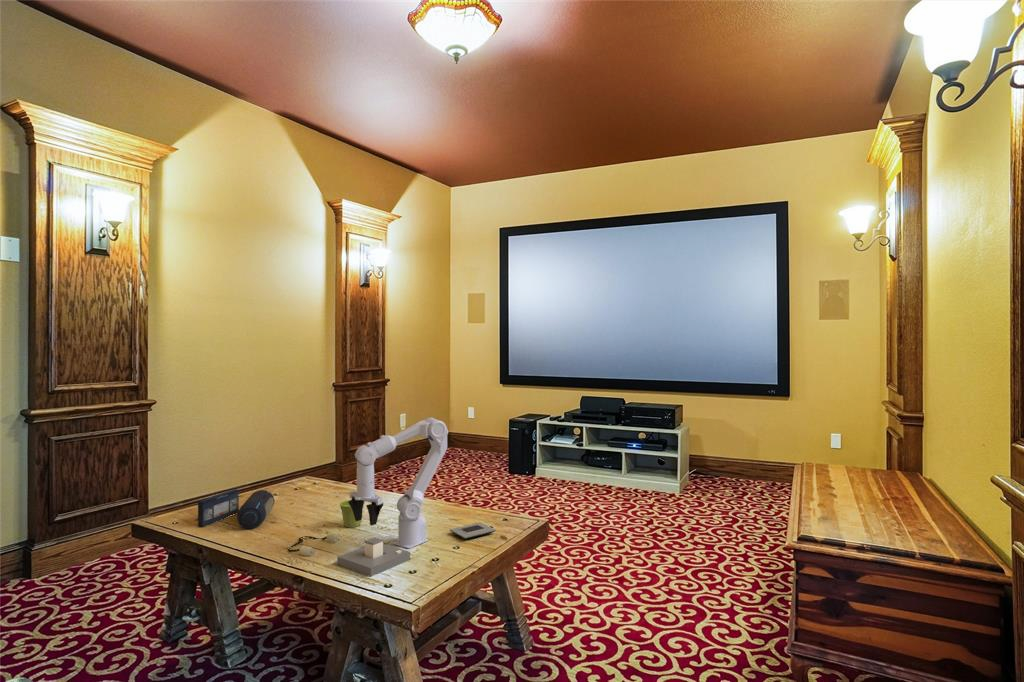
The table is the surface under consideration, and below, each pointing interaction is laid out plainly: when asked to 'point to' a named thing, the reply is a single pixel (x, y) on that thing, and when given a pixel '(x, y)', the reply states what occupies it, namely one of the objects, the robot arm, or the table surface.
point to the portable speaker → (255, 509)
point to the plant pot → (348, 515)
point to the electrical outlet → (472, 530)
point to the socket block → (373, 560)
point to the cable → (309, 550)
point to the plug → (373, 547)
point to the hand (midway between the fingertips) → (365, 522)
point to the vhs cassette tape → (218, 507)
